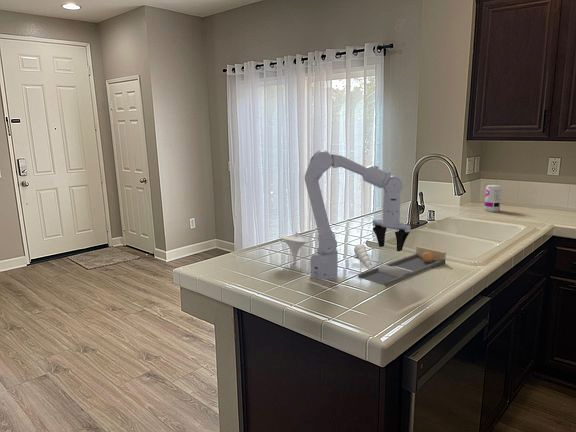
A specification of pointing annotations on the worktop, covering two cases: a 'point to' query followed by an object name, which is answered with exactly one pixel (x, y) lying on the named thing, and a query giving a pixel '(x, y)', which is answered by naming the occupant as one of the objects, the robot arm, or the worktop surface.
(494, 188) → the supplement can
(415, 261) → the divided tray
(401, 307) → the worktop surface
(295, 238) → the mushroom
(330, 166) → the robot arm
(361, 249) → the unicorn horn
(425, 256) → the ball
